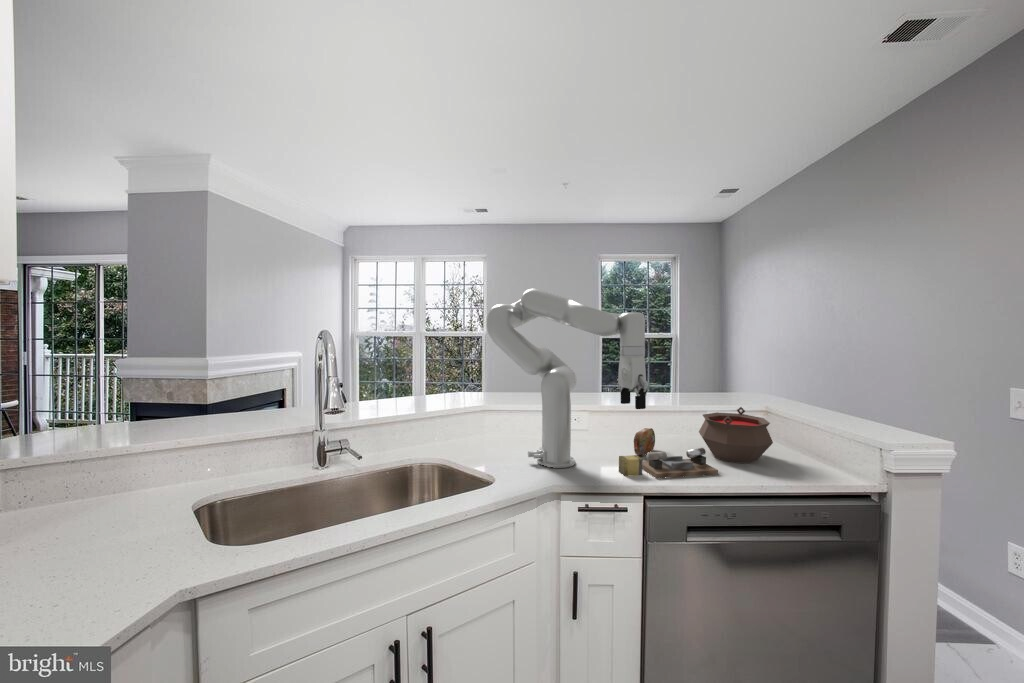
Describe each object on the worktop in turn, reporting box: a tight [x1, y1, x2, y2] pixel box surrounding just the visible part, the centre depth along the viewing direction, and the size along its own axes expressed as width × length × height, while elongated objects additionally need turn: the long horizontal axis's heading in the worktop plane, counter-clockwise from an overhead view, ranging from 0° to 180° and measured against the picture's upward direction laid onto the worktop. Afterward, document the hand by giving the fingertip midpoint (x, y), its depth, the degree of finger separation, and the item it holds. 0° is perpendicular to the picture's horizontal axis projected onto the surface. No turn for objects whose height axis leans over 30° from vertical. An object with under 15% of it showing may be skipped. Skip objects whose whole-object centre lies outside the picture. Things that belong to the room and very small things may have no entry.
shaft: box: [686, 447, 707, 465], centre depth 147 cm, size 6×4×5 cm, turn 121°
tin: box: [633, 427, 656, 457], centre depth 164 cm, size 15×3×8 cm, turn 143°
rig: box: [642, 451, 719, 479], centre depth 145 cm, size 21×12×6 cm, turn 101°
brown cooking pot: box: [698, 406, 774, 464], centre depth 160 cm, size 24×24×16 cm
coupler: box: [618, 454, 644, 477], centre depth 142 cm, size 6×4×5 cm, turn 101°
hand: (632, 406), depth 143 cm, fingers open, 9 cm apart
